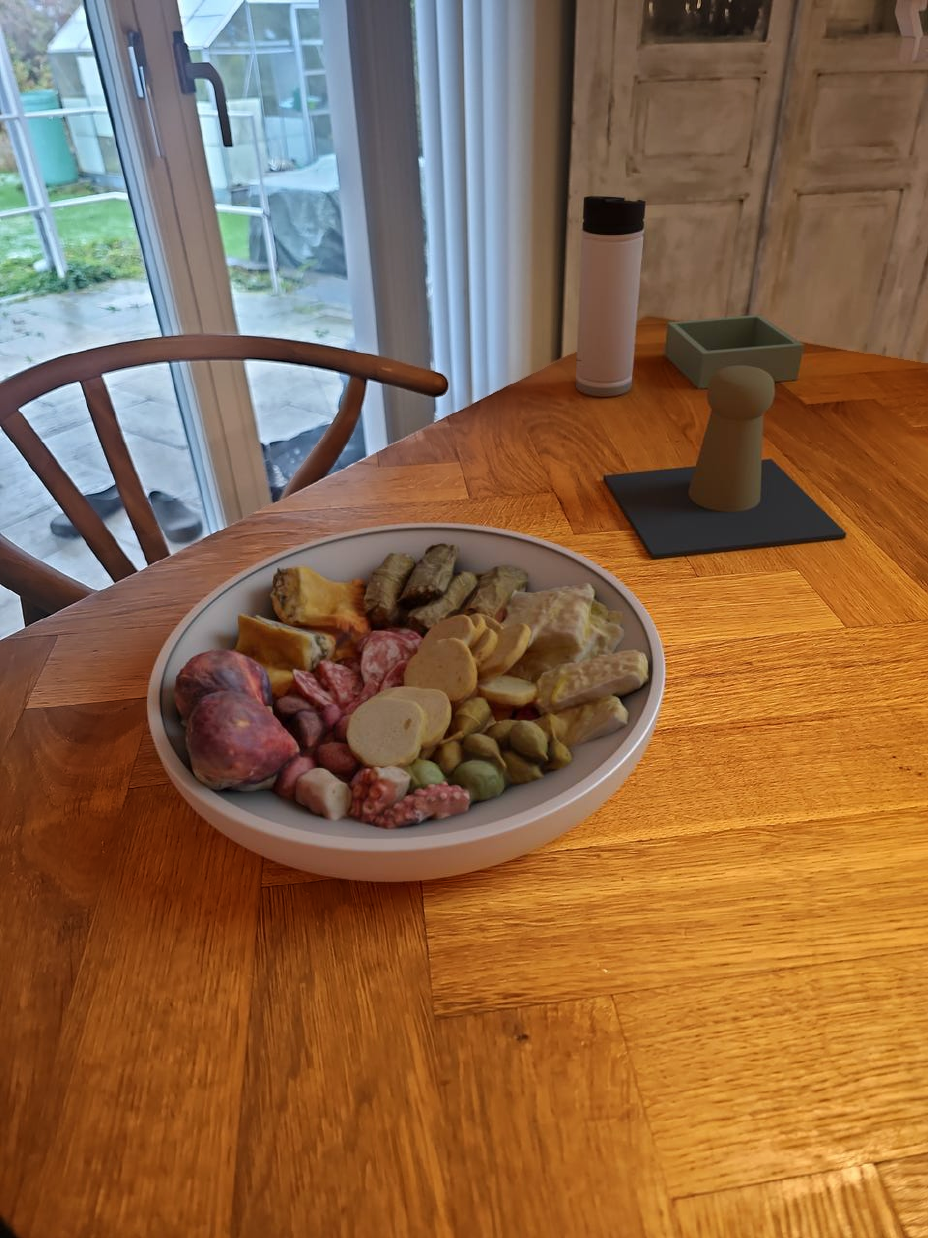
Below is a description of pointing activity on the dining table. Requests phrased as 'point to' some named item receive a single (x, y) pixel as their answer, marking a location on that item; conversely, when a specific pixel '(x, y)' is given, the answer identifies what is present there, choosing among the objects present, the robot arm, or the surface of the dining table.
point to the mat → (717, 514)
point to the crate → (731, 347)
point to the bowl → (407, 700)
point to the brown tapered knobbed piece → (733, 440)
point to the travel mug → (608, 294)
